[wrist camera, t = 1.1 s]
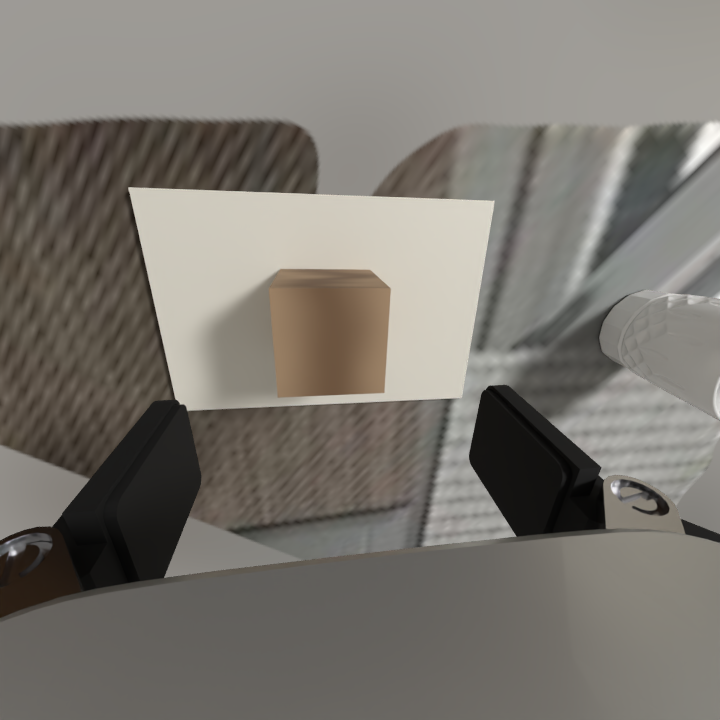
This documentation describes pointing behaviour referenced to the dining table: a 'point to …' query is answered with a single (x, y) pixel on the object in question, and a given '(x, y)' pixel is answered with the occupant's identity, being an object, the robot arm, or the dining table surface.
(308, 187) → the dining table surface
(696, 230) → the dining table surface
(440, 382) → the board
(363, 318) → the walnut block
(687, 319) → the white cup
